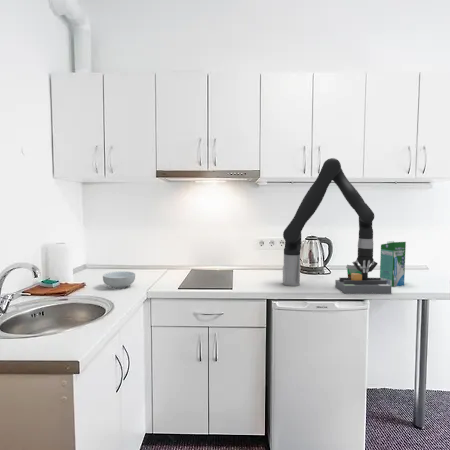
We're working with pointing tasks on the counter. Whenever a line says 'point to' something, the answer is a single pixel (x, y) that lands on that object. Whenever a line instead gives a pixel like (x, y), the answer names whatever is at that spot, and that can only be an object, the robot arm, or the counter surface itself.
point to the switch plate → (363, 286)
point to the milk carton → (393, 263)
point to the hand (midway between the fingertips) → (364, 279)
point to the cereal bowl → (119, 279)
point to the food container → (352, 270)
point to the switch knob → (356, 276)
